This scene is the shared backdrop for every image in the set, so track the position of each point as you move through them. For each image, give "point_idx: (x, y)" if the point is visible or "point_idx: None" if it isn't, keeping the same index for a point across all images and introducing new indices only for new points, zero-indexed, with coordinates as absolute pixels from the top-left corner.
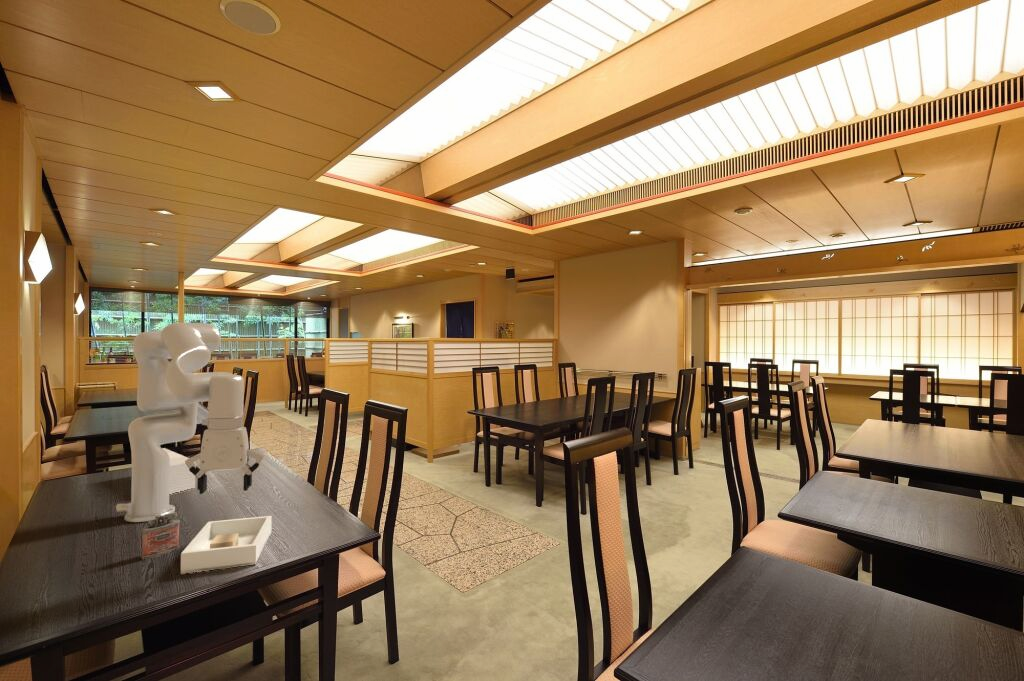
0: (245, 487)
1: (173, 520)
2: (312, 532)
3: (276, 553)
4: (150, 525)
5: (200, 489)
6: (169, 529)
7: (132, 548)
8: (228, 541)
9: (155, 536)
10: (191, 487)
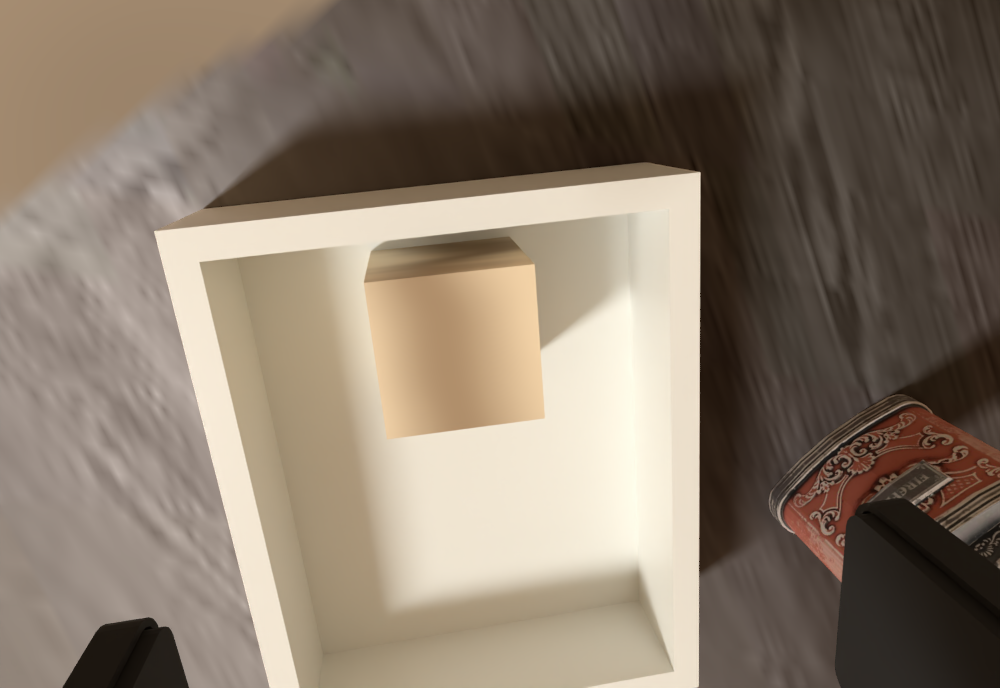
0: (98, 666)
1: None
2: (16, 656)
3: (134, 373)
4: None
5: (943, 544)
6: None
7: None
8: (401, 290)
9: (949, 476)
10: None
